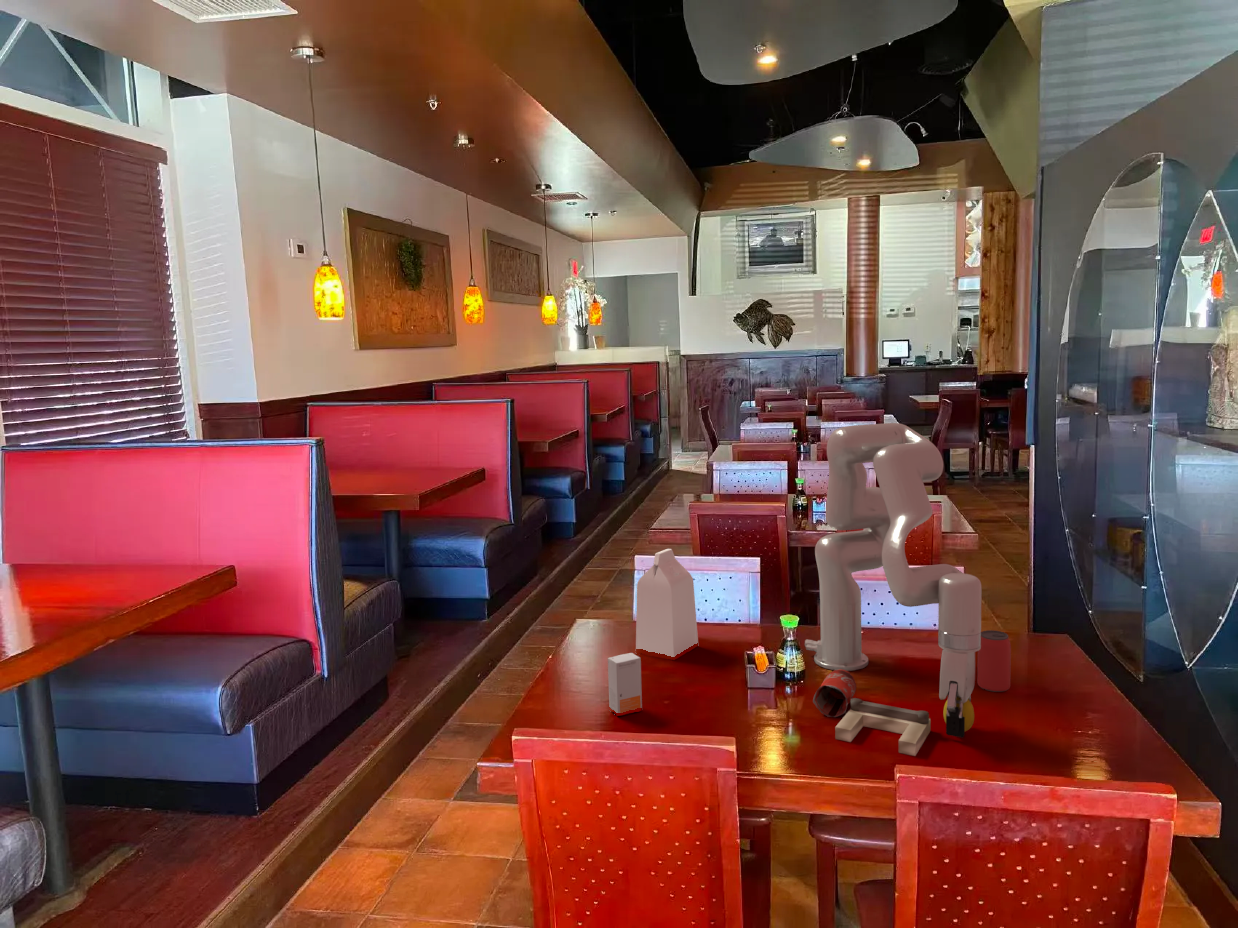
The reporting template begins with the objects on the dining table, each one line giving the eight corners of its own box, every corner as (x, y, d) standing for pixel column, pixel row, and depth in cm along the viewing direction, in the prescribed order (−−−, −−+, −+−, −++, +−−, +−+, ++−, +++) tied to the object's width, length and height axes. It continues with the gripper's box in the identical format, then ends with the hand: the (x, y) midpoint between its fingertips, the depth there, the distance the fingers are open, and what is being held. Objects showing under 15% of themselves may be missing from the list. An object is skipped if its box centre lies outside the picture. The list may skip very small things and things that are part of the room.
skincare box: (618, 718, 175) (615, 663, 173) (609, 711, 178) (606, 657, 177) (643, 711, 177) (641, 657, 176) (633, 704, 181) (631, 651, 180)
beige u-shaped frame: (834, 738, 161) (834, 718, 161) (854, 715, 171) (853, 695, 171) (915, 756, 153) (915, 734, 152) (931, 730, 163) (931, 710, 162)
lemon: (938, 728, 163) (938, 689, 163) (965, 726, 164) (965, 687, 163) (951, 741, 158) (952, 701, 157) (979, 739, 158) (980, 698, 157)
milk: (661, 639, 223) (657, 544, 220) (698, 646, 216) (695, 548, 213) (635, 653, 213) (631, 553, 210) (673, 661, 206) (670, 558, 203)
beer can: (1013, 693, 178) (1014, 639, 177) (980, 692, 180) (981, 638, 178) (1006, 681, 185) (1006, 629, 183) (974, 680, 186) (974, 629, 185)
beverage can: (859, 698, 180) (859, 668, 179) (847, 720, 169) (847, 689, 168) (825, 693, 183) (825, 664, 182) (812, 714, 173) (812, 684, 172)
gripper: (948, 623, 168) (947, 709, 170) (928, 649, 154) (928, 743, 156) (988, 628, 164) (987, 716, 166) (971, 656, 149) (970, 751, 152)
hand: (958, 728), depth 161 cm, fingers closed on lemon, 5 cm apart
